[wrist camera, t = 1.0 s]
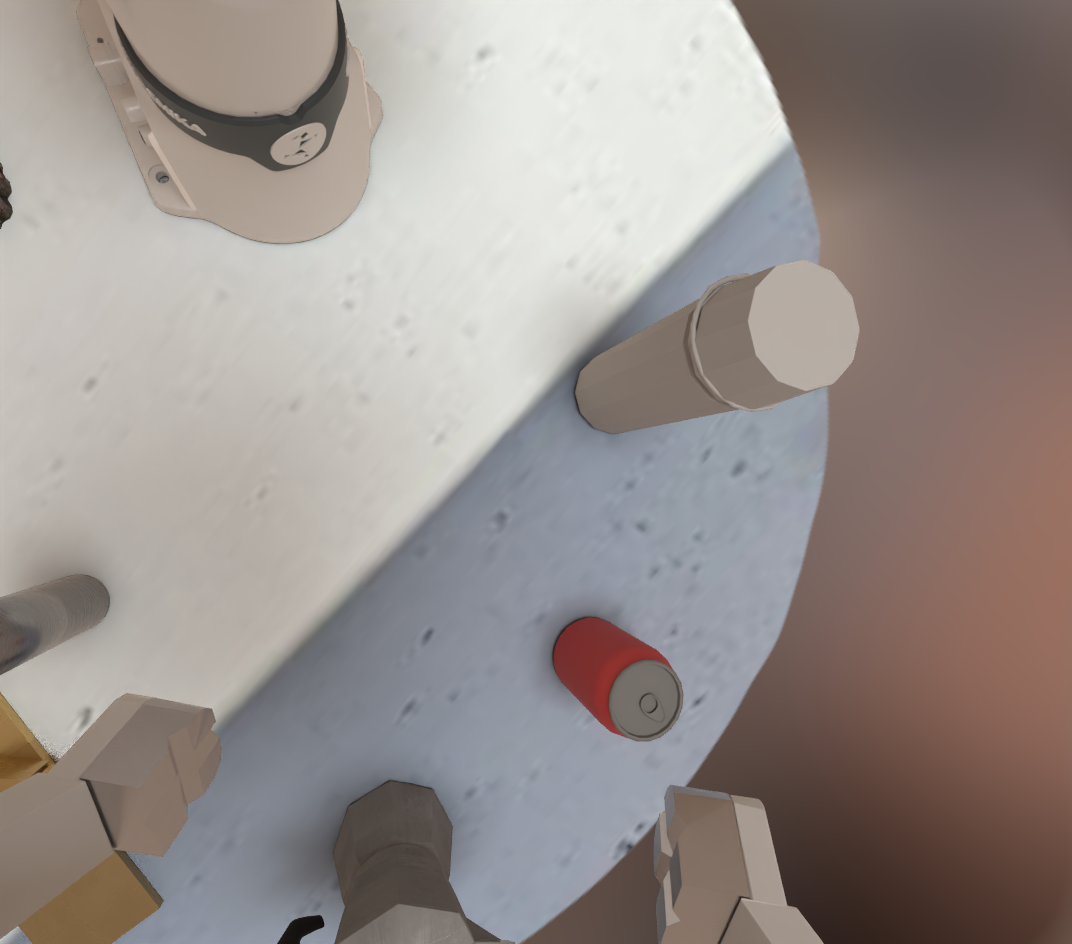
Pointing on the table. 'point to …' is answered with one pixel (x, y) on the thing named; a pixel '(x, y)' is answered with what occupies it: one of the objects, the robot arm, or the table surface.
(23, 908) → the robot arm
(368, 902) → the coffeepot
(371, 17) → the table surface
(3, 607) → the pin
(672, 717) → the beer can
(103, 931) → the octagonal peg holder board
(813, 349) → the water bottle
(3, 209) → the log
